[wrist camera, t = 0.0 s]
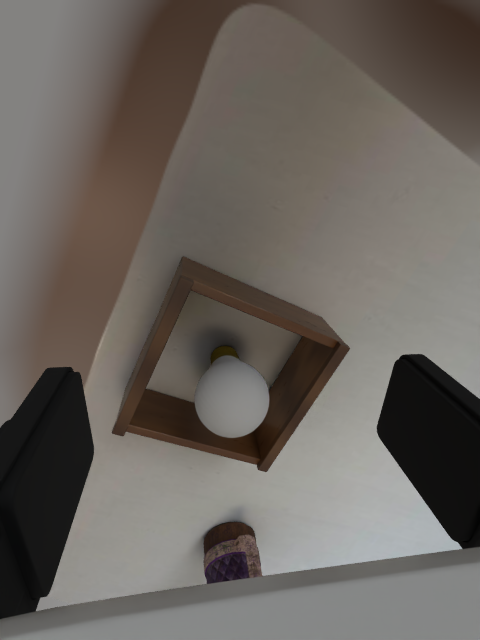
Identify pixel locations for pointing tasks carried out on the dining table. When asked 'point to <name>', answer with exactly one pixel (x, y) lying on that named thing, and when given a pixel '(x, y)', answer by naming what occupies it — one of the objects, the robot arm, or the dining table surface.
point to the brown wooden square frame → (284, 396)
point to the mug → (231, 553)
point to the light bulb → (231, 395)
